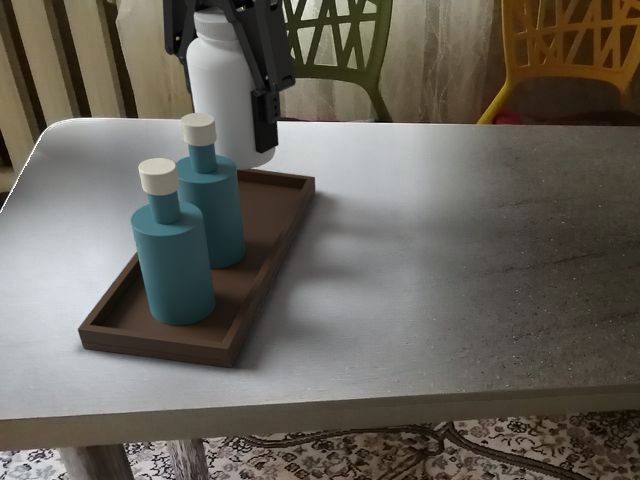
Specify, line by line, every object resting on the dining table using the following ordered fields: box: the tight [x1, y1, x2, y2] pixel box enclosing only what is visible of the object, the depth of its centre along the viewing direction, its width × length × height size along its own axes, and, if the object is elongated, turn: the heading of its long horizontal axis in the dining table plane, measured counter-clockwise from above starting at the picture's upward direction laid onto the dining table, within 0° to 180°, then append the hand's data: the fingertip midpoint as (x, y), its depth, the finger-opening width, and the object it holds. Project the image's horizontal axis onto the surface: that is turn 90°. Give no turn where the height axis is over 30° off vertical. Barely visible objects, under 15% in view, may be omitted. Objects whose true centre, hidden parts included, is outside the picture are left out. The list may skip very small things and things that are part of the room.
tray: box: [77, 168, 316, 369], centre depth 79 cm, size 33×14×2 cm, turn 175°
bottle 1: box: [130, 157, 216, 325], centre depth 68 cm, size 6×6×15 cm
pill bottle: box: [187, 6, 276, 170], centre depth 78 cm, size 8×8×15 cm
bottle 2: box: [175, 112, 245, 269], centre depth 75 cm, size 6×6×15 cm
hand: (236, 136), depth 81 cm, fingers closed on pill bottle, 8 cm apart
